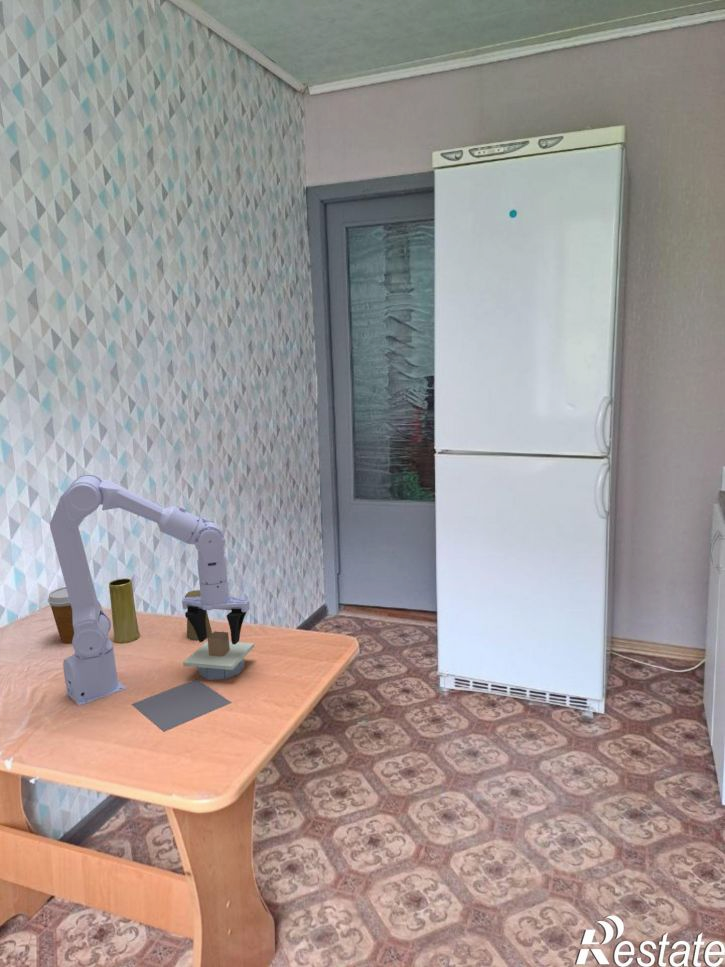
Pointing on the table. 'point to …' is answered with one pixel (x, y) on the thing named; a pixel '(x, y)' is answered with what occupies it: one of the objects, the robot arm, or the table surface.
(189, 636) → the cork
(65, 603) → the disposable coffee cup
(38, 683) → the table surface
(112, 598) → the vase
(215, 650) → the lid
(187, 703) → the mat
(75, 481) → the robot arm
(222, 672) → the bowl
